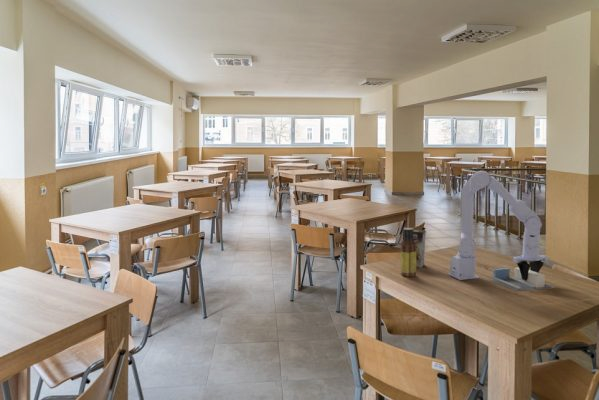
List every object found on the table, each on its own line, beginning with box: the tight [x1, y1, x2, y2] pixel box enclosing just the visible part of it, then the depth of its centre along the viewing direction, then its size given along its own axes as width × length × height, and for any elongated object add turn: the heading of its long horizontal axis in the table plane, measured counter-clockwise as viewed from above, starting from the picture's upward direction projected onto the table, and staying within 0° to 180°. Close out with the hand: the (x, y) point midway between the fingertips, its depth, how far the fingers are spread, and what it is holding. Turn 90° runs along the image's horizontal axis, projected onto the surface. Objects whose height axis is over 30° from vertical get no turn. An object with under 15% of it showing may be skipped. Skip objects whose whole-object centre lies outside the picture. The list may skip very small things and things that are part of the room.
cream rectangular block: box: [513, 267, 546, 288], centre depth 178 cm, size 4×12×4 cm, turn 15°
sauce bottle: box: [400, 227, 417, 277], centre depth 189 cm, size 7×6×20 cm
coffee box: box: [402, 228, 427, 268], centre depth 205 cm, size 9×6×16 cm
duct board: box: [488, 267, 557, 292], centre depth 178 cm, size 18×16×4 cm
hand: (528, 279), depth 178 cm, fingers closed on cream rectangular block, 4 cm apart
